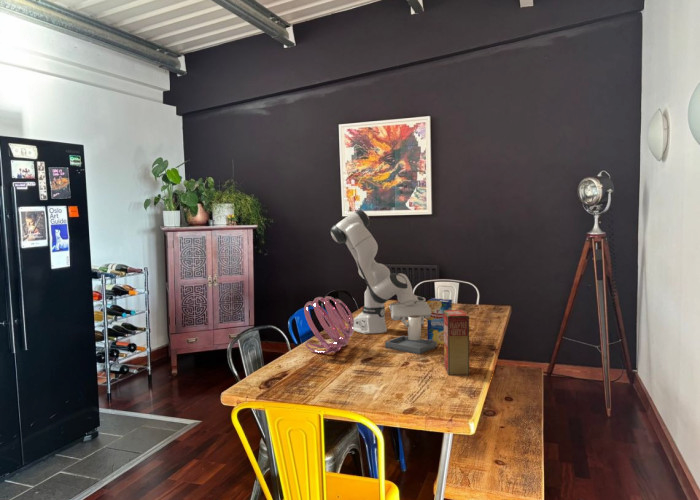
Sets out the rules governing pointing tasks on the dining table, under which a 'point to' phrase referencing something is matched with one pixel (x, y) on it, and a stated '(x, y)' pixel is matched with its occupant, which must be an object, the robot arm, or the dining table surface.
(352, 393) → the dining table surface
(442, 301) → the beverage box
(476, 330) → the dining table surface
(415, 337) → the cup
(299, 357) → the dining table surface
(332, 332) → the spiral basket
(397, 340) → the tray
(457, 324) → the food packaging
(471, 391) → the dining table surface
